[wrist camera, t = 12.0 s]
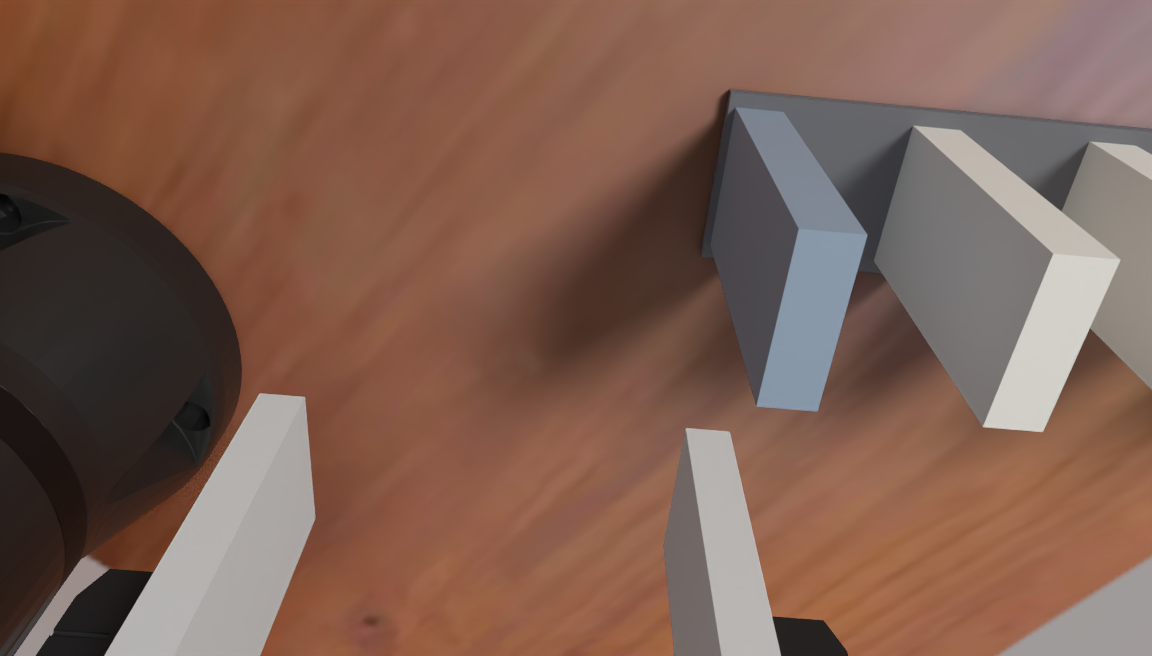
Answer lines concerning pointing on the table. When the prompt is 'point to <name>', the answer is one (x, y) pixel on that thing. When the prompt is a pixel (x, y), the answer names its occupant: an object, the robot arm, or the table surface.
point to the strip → (880, 138)
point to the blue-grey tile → (783, 259)
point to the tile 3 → (1120, 244)
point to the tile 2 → (990, 277)
